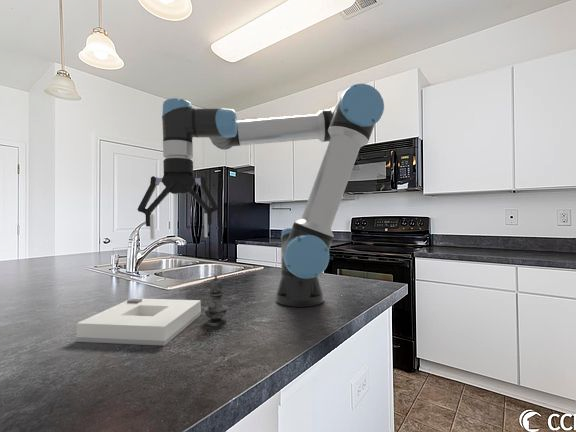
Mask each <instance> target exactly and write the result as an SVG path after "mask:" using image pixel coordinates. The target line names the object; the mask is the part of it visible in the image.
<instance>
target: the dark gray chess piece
mask: <svg viewBox="0 0 576 432" xmlns="http://www.w3.org/2000/svg"><path fill="white" fill-rule="evenodd" d="M222 284H223V283H222V280H221V279H220V278H218V276H217V275H215V276H214V278H213V279H211V280H210V283H209V287H210V288H209V290H210V292H208V295H209V304H208V305H207V306H205V307H204V308H203V310H204V312H205V316H206V318H208V319H207V320H206V321H205V322H204V323H205V325H206V326H211V327H213V326H214V327H217V326H223V325H224V324H227V319H226V318H224V317H225V316H226V314H227V310H228V306H227V305H224V304H223V295H224V292H223V291H222V288H223V287H222V286H223V285H222Z"/></svg>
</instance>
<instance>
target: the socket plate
mask: <svg viewBox="0 0 576 432" xmlns="http://www.w3.org/2000/svg"><path fill="white" fill-rule="evenodd" d="M201 305H202V300H201V299H200V300H199V299H197V300H196V299H166V298H161V299H160V298H159V299H158V298H135V297H133V298H130V299H128V300H125V301H123V302H121V303H118V304H116V305H114V306H112V307H109V308H108V309H105V310H103V311H100V312H99V313H96V314H94V315H91V316H89V317H87V318H84V319H83V320H81V321H79V322H77V323H76V342H77V343H78V342H80V343H81V342H82V343H97V344H98V343H100V344H121V345H140V346H141V345H143V346H146V345H147V346H166V345H168V343H169V342H171V341H173V339H174V338H176V336H178V335H179V334H180V333H181V332H182V331H184V330H185V329H186V328H187V327H188V326H190V325H191V324H192V323H193V322H194V321H196V320H197V318H199V317H200V316H201V314H202V309H201V308H202V306H201Z"/></svg>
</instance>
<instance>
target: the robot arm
mask: <svg viewBox="0 0 576 432" xmlns="http://www.w3.org/2000/svg"><path fill="white" fill-rule="evenodd" d="M192 105H193V104H192V103H191V102H190V101H188V100H186V99H183V98H181V99H180V98H178V97H177V98H176V97H173V98H168V99H166V100H165V101H163V103H162V116H161V119H162V156H163V158H164V160H163V162H162V163H163V176H162V177H157V176H151V177H150V180H149V181H150V182H149V186H148V188H147V190H146V192H145V194H144V196H143V197H142V200H141V201H140V203H139V205H138V207H137V212H139V213H143V214H144V215H145V226H146V227H150V228H149V230H150V232H149V234H150V240H155V239H156V228H155V227H156V225H155V213H154V214H153V211H155V209H157V207H158V206H160V204H161V203H162V201H163V200H164V199H165V198H166V197H167V196H168V195H169V194H170V193H171V194H173V195H177V194H181V195H182V194H183V195H185V194H188V193H189V194H190V196H191V197H192V198H193V199H195V201H196V202H197V203H198V204H199V205H200V206H201V207H202V208H203V210H204V211H205V212H206V213H205V212H204V214H203V220H204V221H203V222H204V223H203V225H204V227H203V228H204V230H203V231H204V233H203V234H204V238H208V235H209V234H208V233H209V231H208V226H212V223H213V221H212V218H213V217H212V213H214V212H216V211H218V210H219V206H218V205H217V203H216V201H215V199H214V197H213V196H212V194H211V192H210V190H209V188H208V187H207V184H206V178H205V177H204V176H202V177H198V178H197V177H196V178H195V177H194V161H193V160H192V159H193V158H194V151H193V149H194V148H193V146H194V144H193V143H194V142H193V138H195V139H196V138H209V140H210V141H211V143H212V145H214V146H215V147H216V148H218V149H219V150H223V151H225V150H230V149H231V148H233V147H239V146H240V147H241V146H251V145H253V146H254V145H259V144H260V145H262V144H272V143H273V144H274V143H286V142H287V143H288V142H297V141H309V140H311V141H312V140H318V141H320V142H322V143H325V142H328V145H327V148H326V150H325V151H324V152H325V153H324V156H323V158H322V161H321V164H320V167H319V168H318V172H317V175H316V178H315V179H314V182H313V186H312V188H311V191H310V194H309V197H308V198H307V199H308V200H307V202H306V205H305V207H304V210H303V213H302V216H301V217H300V218H299V219H297V220H295V221H294V222H293V224H292V227H286V228H283V229H282V230H281V235H280V240H281V241H280V243H281V244H280V245H281V250H280V251H281V253H280V254H281V255H280V256H281V257H280V258H281V259H280V260H281V261H280V263H281V264H280V265H281V266H280V267H281V271H280V272H281V273H280V275H281V276H280V278H279V282H278V286H277V288H276V289H277V290H276V292H275V301H276V303H277V304H280V305H282V306H287V307H294V308H296V307H297V308H299V307H300V308H306V307H307V308H308V307H314V306H317V305H320V304H322V303H323V302H324V292H323V289H322V286H321V283H320V280H319V276H320V275H321V274H323V272H324V271H326V269H327V267H328V265H329V262H330V248H331V246H332V243H333V240H334V238H335V237H334V236H335V235H334V233H333V231H332V226H333V224H334V221H335V218H336V215H337V212H338V210H339V207H340V205H341V202H342V199H343V196H344V194H345V191H346V188H347V185H348V182H349V180H350V177H351V174H352V171H353V169H354V165H355V163H356V160H357V158H358V155H359V153H360V152H359V151H360V149H361V148H363V147H364V146H366V145H368V143H369V141H370V138H371V136H372V133H373V130H374V128H375V125H376V124H377V123H378V122H379V121H380V119H381V118H382V116H383V115H384V111H385V102H384V98H383V97H382V95H381V93H380V92H379V90H377V88H375V87H374V86H373V85H369V84H367V83H357V84H353V85H351V86H349V87H347V89H346V90H345V91H343V93H342V94H341V95H340V98H339V99H338V101H337V103H336V104H335V106H334V107H332V108H329V109H322V110H319V111H318V112H317V113H316V114H307V115H306V114H305V115H293V116H283V117H282V116H280V117H279V116H278V117H269V118H257V119H255V118H254V119H244V120H237V118H238V117H237V112H236V111H235V110H234V109H233V108H224V107H220V108H193V106H192ZM160 183H162V185H164V189H163V190H162V191H161V193H159V195H158V196H157V197H156V198H155V199H154V200H153V202H151V203H150V205H149V206H148V207H147V205H148V204H149V201H150V199H151V198H152V195H153V193H154V192H155V189H156V188H157V187H156V186H159V185H160ZM195 184H197V185H198V186H199V187H201V188H202V190H203V193H204V194H205V196H206V199H207V200H208V202H209V204H210V205H211V207H210V206H209V205H208V204H207V203H206V202H205V201H204V200H203V199H202V198H201V196H200V195H198V194H197V192H196V191H195V190H194V189H193V188H192V187H193V186H194V185H195ZM146 207H147V208H146Z"/></svg>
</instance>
